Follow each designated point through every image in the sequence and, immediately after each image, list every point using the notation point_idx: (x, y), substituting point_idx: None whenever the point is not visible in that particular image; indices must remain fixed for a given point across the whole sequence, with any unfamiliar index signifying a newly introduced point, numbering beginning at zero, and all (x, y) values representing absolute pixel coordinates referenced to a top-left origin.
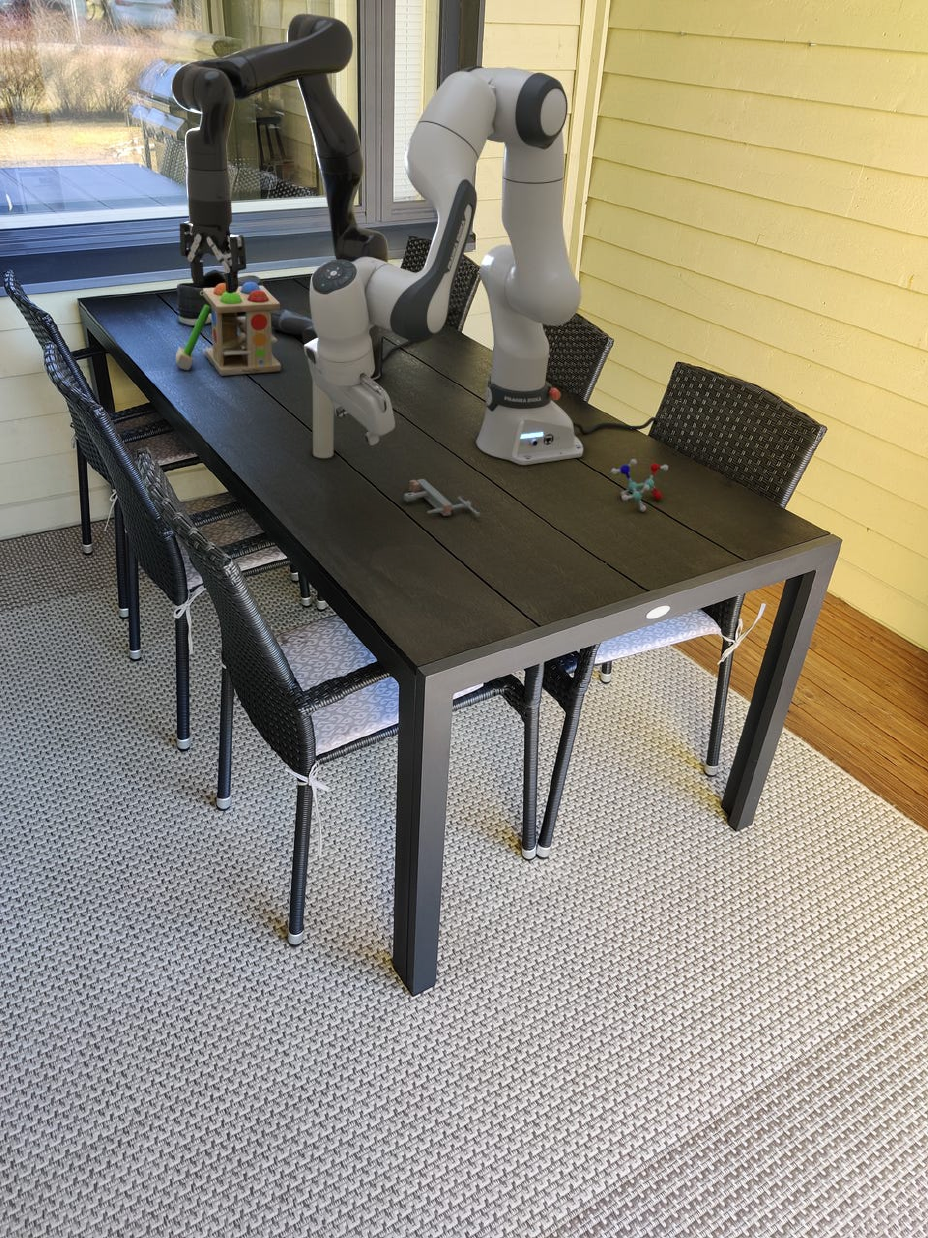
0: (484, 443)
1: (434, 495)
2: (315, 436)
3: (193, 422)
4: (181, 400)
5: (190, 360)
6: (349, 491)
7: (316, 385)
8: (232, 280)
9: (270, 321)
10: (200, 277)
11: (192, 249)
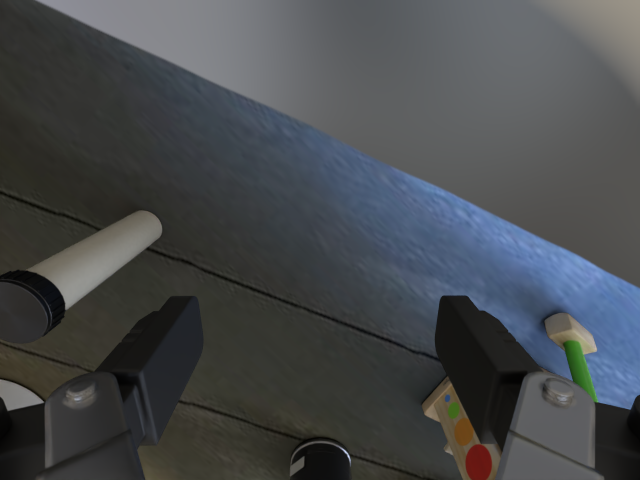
0: (1, 392)
1: None
2: (124, 220)
3: (391, 170)
4: (472, 224)
5: (551, 332)
6: (4, 148)
7: (47, 260)
8: (112, 351)
9: (462, 476)
10: (444, 342)
11: (559, 470)
